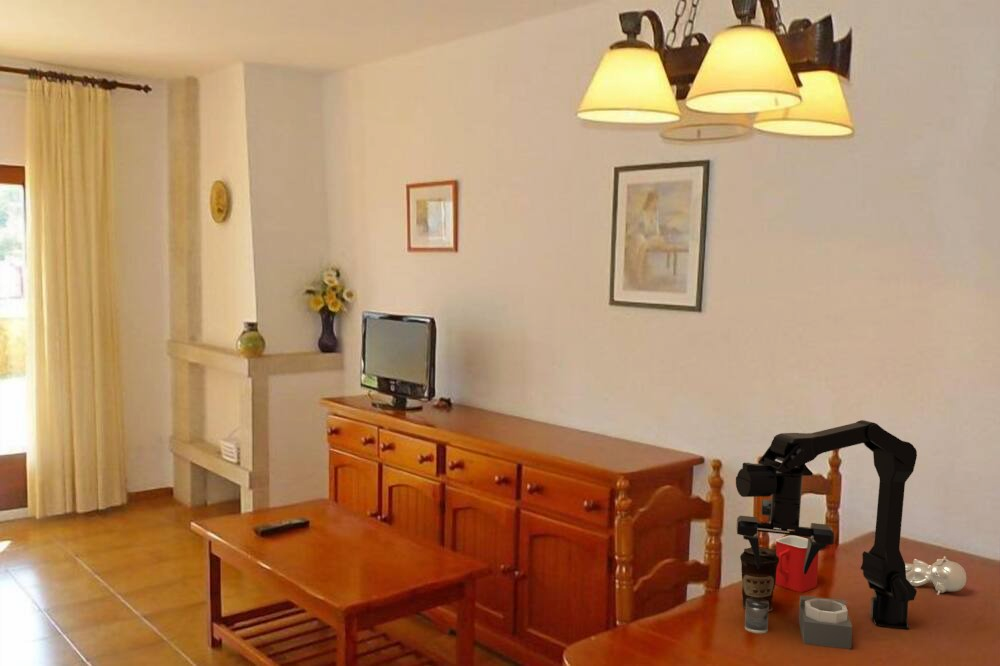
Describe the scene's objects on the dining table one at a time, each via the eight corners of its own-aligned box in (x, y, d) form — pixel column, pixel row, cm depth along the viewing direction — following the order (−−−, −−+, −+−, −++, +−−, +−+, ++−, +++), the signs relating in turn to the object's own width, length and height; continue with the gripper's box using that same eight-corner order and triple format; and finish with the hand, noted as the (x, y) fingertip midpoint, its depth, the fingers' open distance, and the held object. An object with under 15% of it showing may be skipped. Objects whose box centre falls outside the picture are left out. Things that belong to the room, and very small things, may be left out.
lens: (767, 626, 187) (768, 598, 187) (768, 634, 182) (769, 606, 182) (744, 623, 188) (745, 595, 188) (744, 631, 184) (746, 603, 183)
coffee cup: (779, 617, 192) (781, 558, 191) (739, 613, 194) (742, 555, 193) (775, 602, 201) (777, 546, 200) (737, 599, 202) (739, 543, 201)
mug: (789, 577, 219) (791, 534, 218) (820, 586, 212) (822, 542, 212) (762, 587, 211) (763, 543, 210) (793, 597, 205) (795, 551, 204)
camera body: (843, 626, 188) (845, 596, 187) (851, 649, 176) (852, 617, 176) (798, 621, 190) (800, 591, 189) (803, 643, 178) (804, 611, 178)
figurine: (898, 546, 219) (962, 548, 209) (909, 563, 223) (973, 566, 212) (890, 583, 214) (956, 588, 203) (902, 600, 217) (967, 605, 206)
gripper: (829, 492, 188) (824, 564, 189) (738, 483, 192) (733, 554, 193) (836, 504, 177) (831, 581, 178) (739, 494, 181) (734, 569, 182)
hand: (781, 570), depth 183 cm, fingers open, 9 cm apart
